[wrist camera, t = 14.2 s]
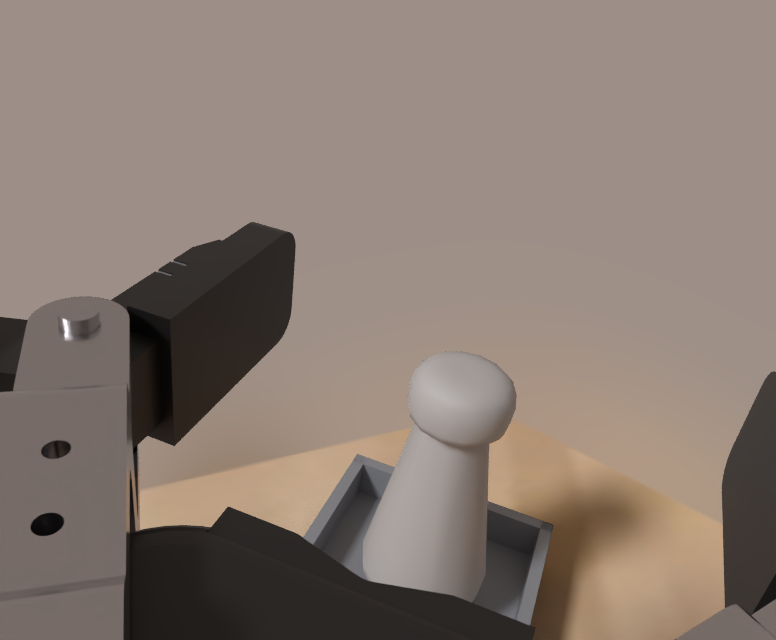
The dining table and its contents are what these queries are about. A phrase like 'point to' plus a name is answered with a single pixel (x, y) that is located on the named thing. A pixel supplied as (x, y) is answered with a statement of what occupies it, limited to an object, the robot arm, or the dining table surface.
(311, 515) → the dining table surface
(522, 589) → the tray
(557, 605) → the dining table surface
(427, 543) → the salt shaker
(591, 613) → the dining table surface
